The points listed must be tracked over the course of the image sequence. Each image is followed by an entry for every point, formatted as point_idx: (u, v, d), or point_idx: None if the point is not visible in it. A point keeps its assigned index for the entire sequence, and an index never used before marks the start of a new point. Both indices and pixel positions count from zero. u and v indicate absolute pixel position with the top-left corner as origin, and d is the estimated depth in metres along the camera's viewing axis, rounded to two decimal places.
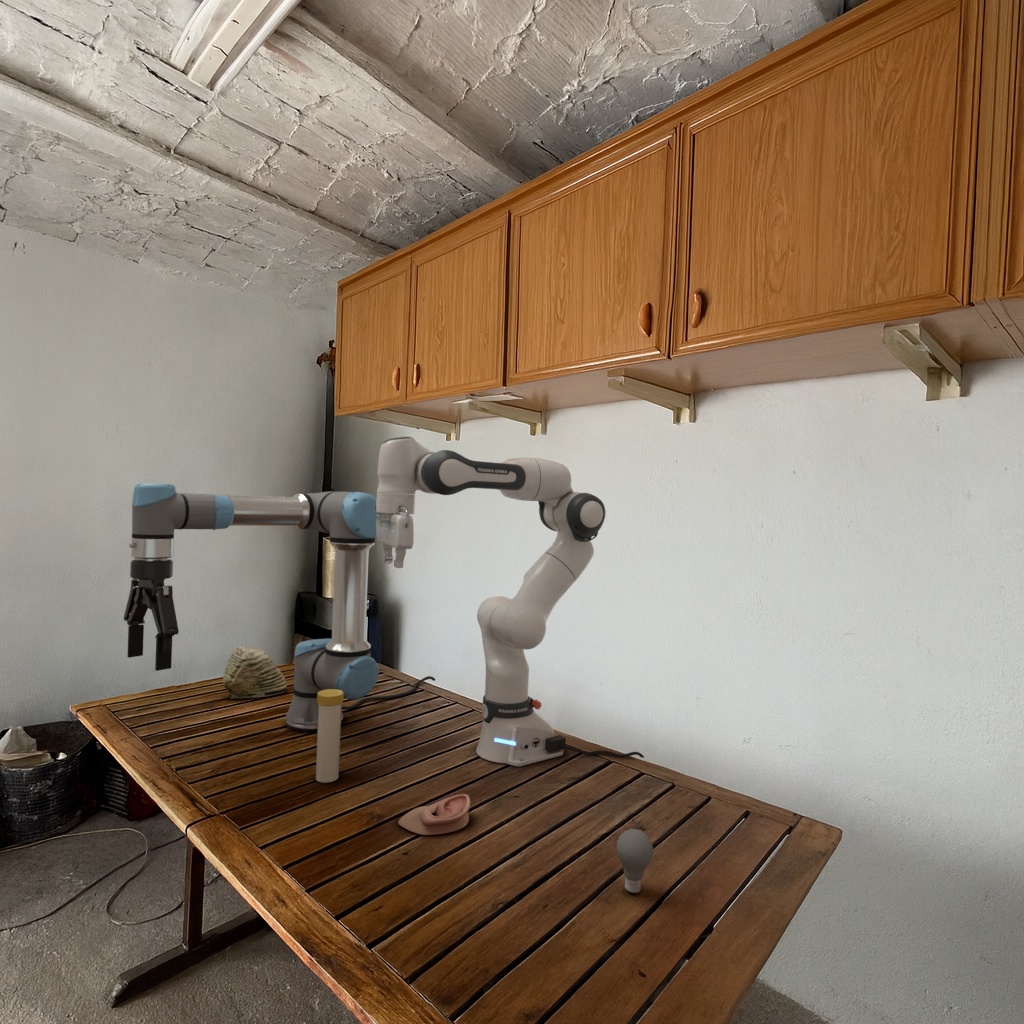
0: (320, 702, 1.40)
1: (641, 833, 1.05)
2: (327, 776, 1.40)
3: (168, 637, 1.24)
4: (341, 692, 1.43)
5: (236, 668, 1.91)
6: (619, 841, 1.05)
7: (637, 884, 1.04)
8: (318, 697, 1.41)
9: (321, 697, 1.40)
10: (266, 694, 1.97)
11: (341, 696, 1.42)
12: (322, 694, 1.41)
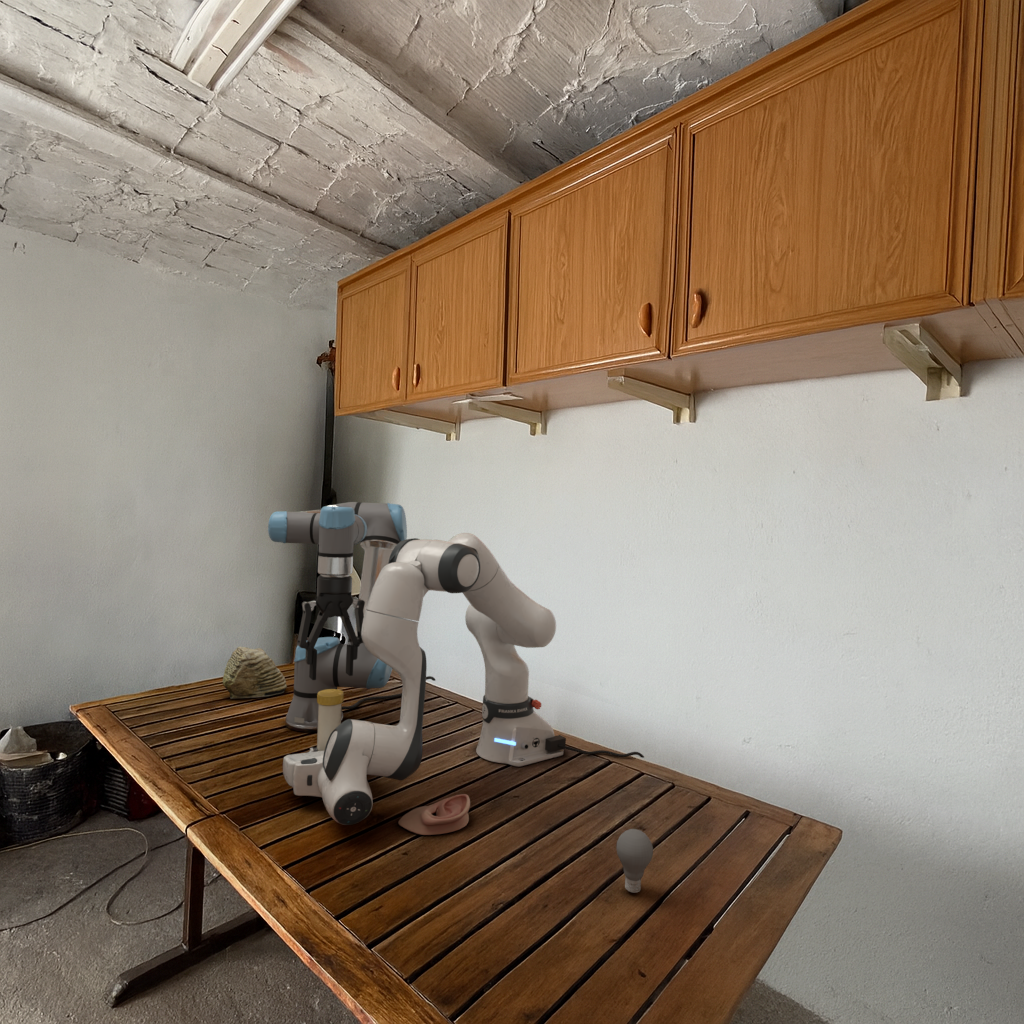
0: (320, 702, 1.40)
1: (641, 833, 1.05)
2: None
3: (306, 649, 1.39)
4: (341, 692, 1.43)
5: (236, 668, 1.91)
6: (619, 841, 1.05)
7: (637, 884, 1.04)
8: (318, 697, 1.41)
9: (321, 697, 1.40)
10: (266, 694, 1.97)
11: (341, 696, 1.42)
12: (322, 694, 1.41)
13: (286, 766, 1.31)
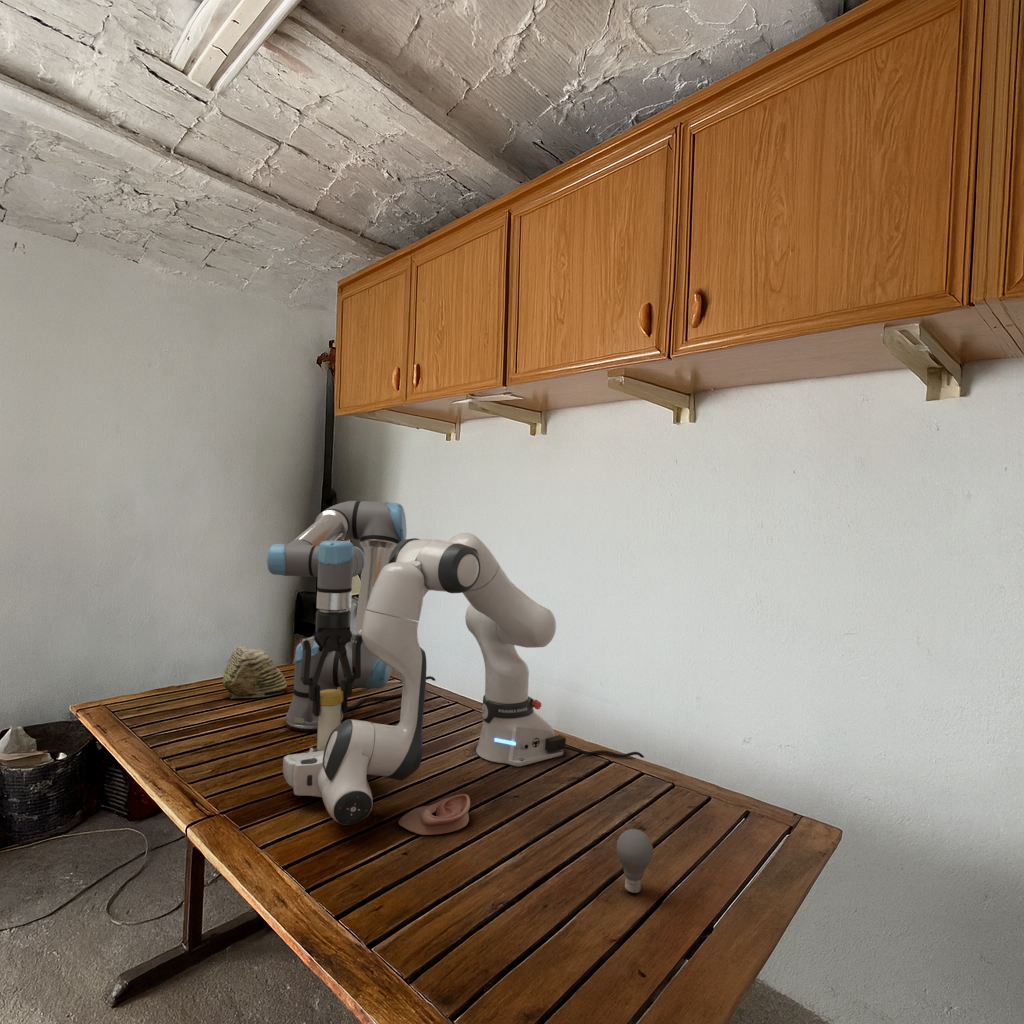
0: (320, 702, 1.40)
1: (641, 833, 1.05)
2: None
3: (309, 686, 1.40)
4: (341, 692, 1.43)
5: (236, 668, 1.91)
6: (619, 841, 1.05)
7: (637, 884, 1.04)
8: None
9: (321, 697, 1.40)
10: (266, 694, 1.97)
11: (341, 696, 1.42)
12: (322, 694, 1.41)
13: (286, 766, 1.31)
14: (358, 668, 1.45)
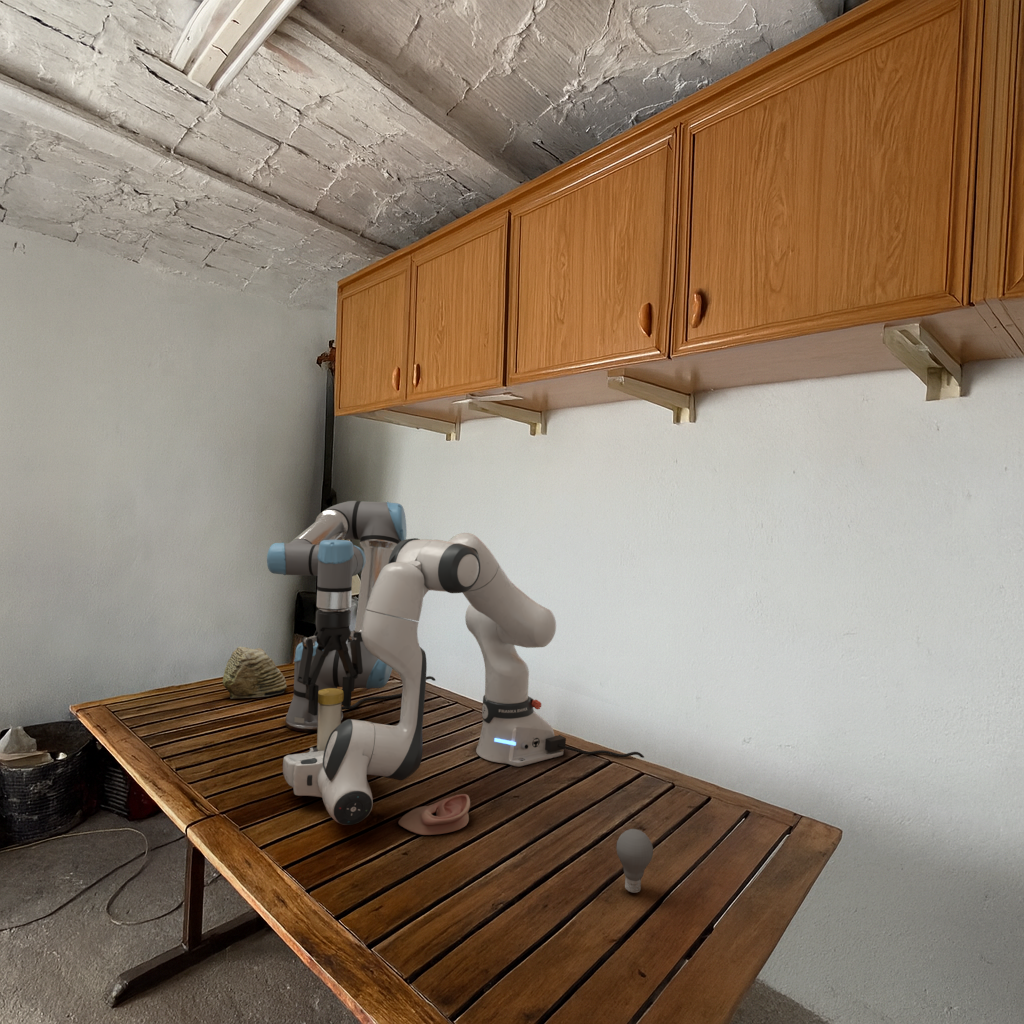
0: (334, 702, 1.40)
1: (641, 833, 1.05)
2: None
3: (307, 685, 1.38)
4: (335, 688, 1.45)
5: (236, 668, 1.91)
6: (619, 841, 1.05)
7: (637, 884, 1.04)
8: (330, 698, 1.40)
9: (335, 696, 1.40)
10: (266, 694, 1.97)
11: None
12: (332, 694, 1.41)
13: (286, 766, 1.31)
14: (360, 664, 1.46)
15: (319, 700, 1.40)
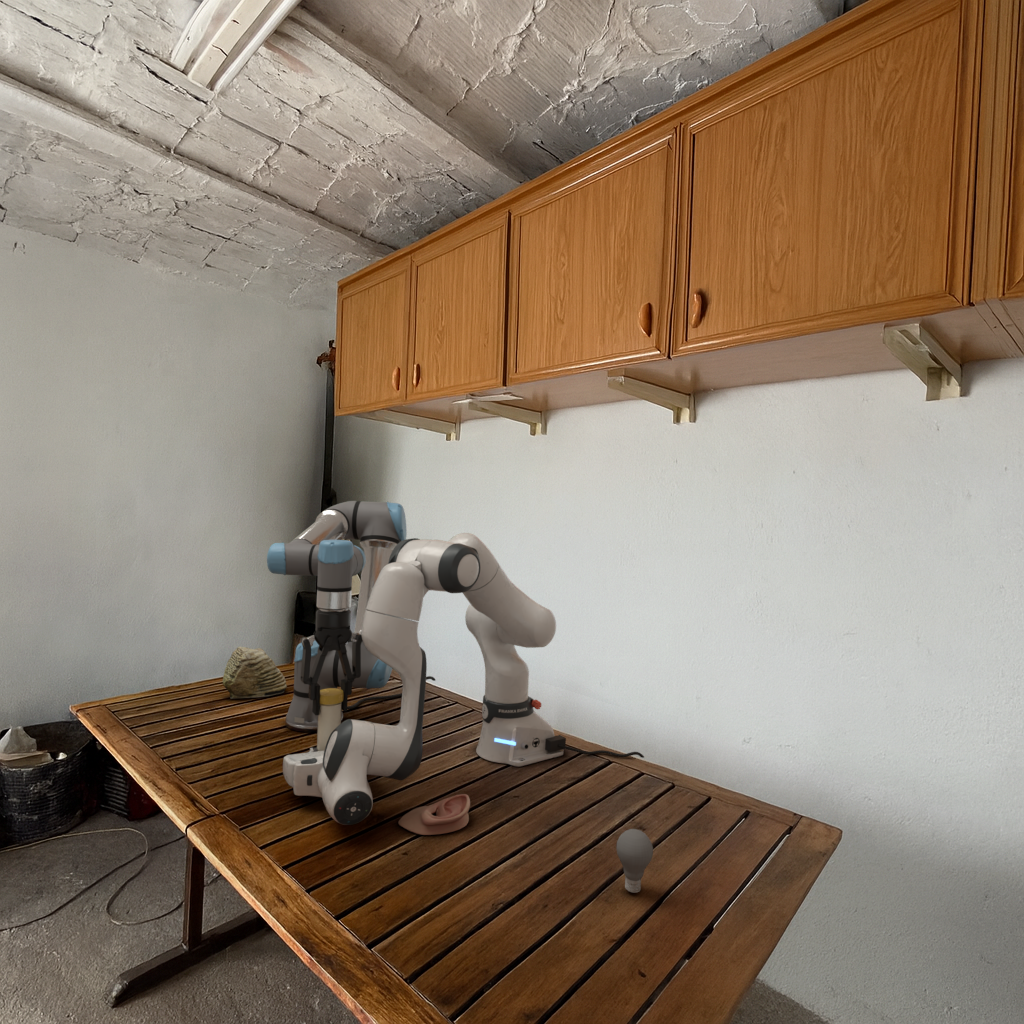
0: (334, 702, 1.40)
1: (641, 833, 1.05)
2: None
3: (309, 685, 1.40)
4: (335, 688, 1.45)
5: (236, 668, 1.91)
6: (619, 841, 1.05)
7: (637, 884, 1.04)
8: (330, 698, 1.40)
9: (335, 696, 1.40)
10: (266, 694, 1.97)
11: None
12: (332, 694, 1.41)
13: (286, 766, 1.31)
14: (358, 667, 1.45)
15: None
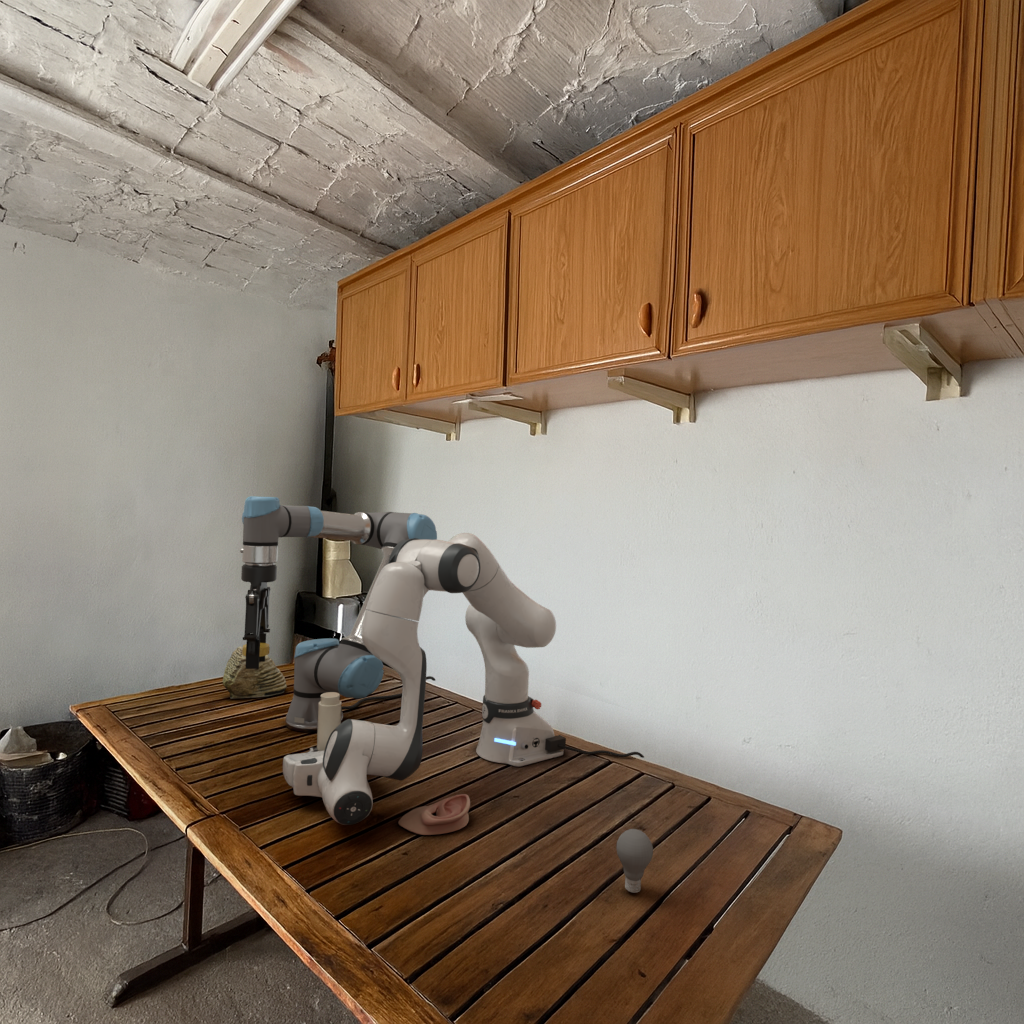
0: (268, 651, 1.45)
1: (641, 833, 1.05)
2: None
3: (251, 640, 1.40)
4: None
5: (236, 668, 1.91)
6: (619, 841, 1.05)
7: (637, 884, 1.04)
8: (267, 648, 1.45)
9: None
10: (266, 694, 1.97)
11: None
12: (265, 645, 1.45)
13: (286, 766, 1.31)
14: (268, 618, 1.51)
15: None
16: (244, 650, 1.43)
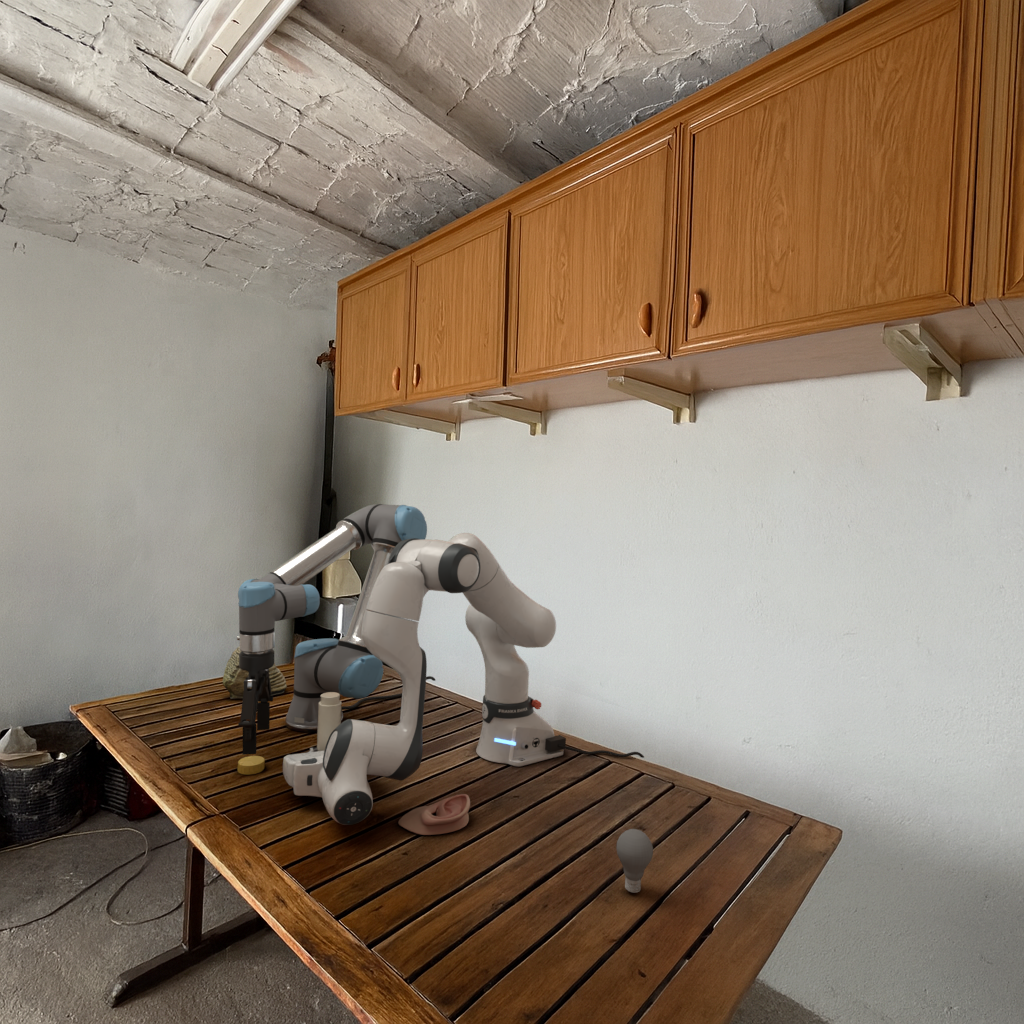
0: (264, 766, 1.46)
1: (641, 833, 1.05)
2: None
3: (248, 727, 1.38)
4: (245, 758, 1.47)
5: (236, 668, 1.91)
6: (619, 841, 1.05)
7: (637, 884, 1.04)
8: (262, 764, 1.45)
9: (264, 761, 1.46)
10: None
11: None
12: (260, 761, 1.45)
13: (286, 766, 1.31)
14: (270, 688, 1.55)
15: (252, 771, 1.43)
16: (239, 767, 1.43)
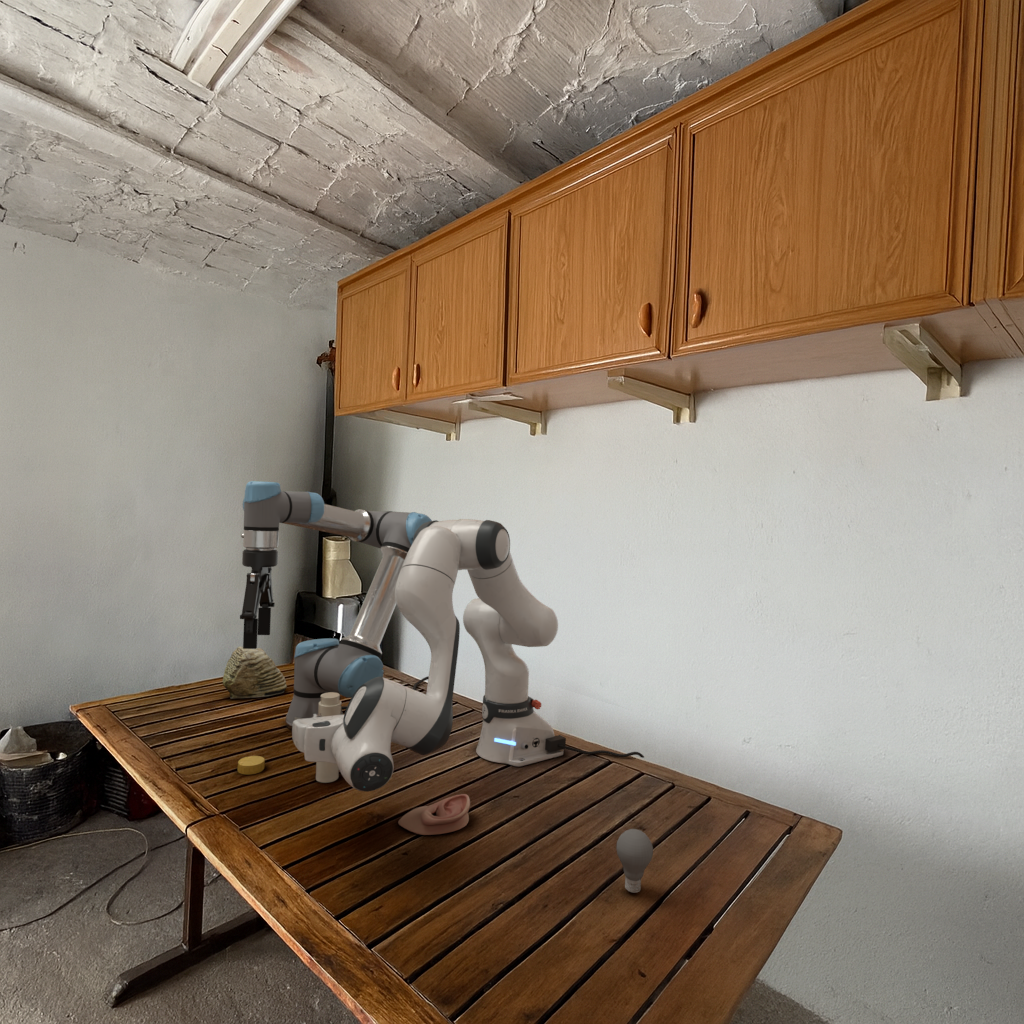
0: (264, 766, 1.46)
1: (641, 833, 1.05)
2: (327, 776, 1.40)
3: (249, 619, 1.37)
4: (245, 758, 1.47)
5: (236, 668, 1.91)
6: (619, 841, 1.05)
7: (637, 884, 1.04)
8: (262, 764, 1.45)
9: (264, 761, 1.46)
10: (266, 694, 1.97)
11: None
12: (260, 761, 1.45)
13: (296, 730, 1.19)
14: (272, 594, 1.54)
15: (252, 771, 1.43)
16: (239, 767, 1.43)
